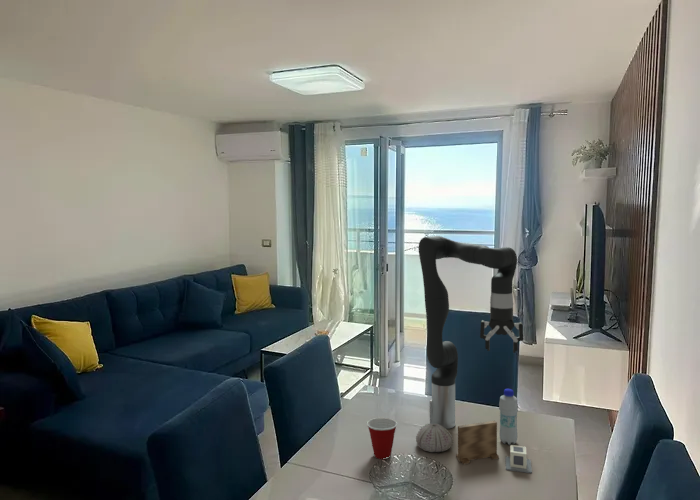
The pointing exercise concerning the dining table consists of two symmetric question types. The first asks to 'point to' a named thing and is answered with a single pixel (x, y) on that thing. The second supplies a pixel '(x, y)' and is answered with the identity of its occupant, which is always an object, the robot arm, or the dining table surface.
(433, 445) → the sea urchin shell
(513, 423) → the bottle
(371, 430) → the plastic cup
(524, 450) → the white marker cube
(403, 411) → the dining table surface
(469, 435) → the walnut screen
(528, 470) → the slate coaster
